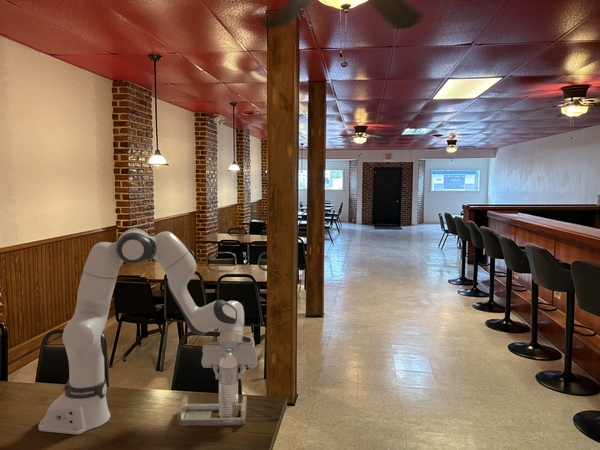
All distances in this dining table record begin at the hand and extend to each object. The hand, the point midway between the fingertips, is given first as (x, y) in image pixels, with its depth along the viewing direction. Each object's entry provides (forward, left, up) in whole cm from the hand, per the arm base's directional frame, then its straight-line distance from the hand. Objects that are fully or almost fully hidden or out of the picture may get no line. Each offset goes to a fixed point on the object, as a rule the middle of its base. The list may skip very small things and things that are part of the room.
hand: (228, 378), depth 160 cm
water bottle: (0, +1, -15) cm, 15 cm away
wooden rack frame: (-5, +1, -14) cm, 15 cm away
